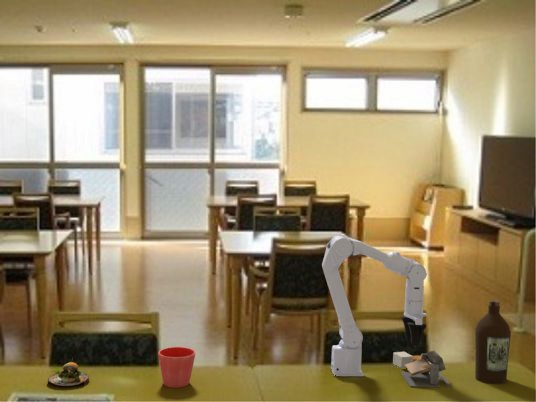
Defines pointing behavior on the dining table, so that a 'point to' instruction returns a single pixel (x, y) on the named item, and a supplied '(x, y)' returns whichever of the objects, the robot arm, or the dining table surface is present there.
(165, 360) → the flower pot
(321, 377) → the dining table surface
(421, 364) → the trapdoor
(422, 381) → the mat
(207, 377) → the dining table surface
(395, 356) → the white rectangular block
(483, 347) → the olive oil
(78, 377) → the burger
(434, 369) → the frame
